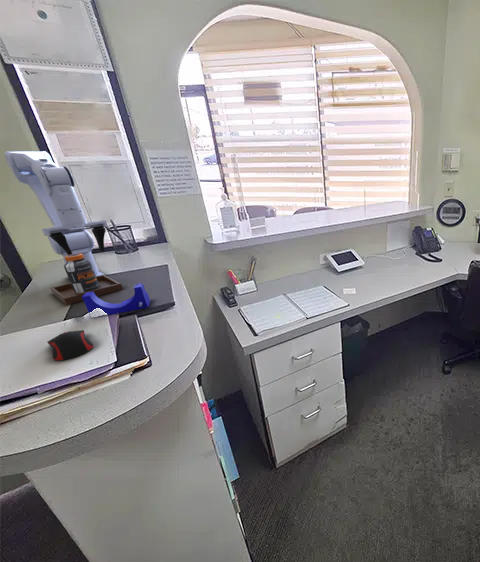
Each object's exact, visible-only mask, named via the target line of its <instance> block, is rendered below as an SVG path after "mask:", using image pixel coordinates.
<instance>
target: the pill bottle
mask: <svg viewBox="0 0 480 562" xmlns="http://www.w3.org/2000/svg"><path fill="white" fill-rule="evenodd" d="M65 260H66V261H67V263H64V265H63V269H64V271H65V273H66V275H67V276H68V278H67V279H68V280H69V283H71V285H72V288H73V290H74V292H75V293H85V292H89V291H92V290H96V289H98V288H99V287H100V286H99V283H98V281H97V278H96V276H95V273H94V270H93V267H92V265H91V263H90V261H88V260H85V259H84V256H83V254H81V253H79V254H71V255H67V256H65ZM67 276H66V277H67Z"/></svg>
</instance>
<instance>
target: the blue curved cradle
mask: <svg viewBox="0 0 480 562" xmlns="http://www.w3.org/2000/svg"><path fill="white" fill-rule="evenodd" d="M133 289H134V290H133V291H134V293H133V295H132V297H130V298H128V299H126V300H122V301H121V302H120V303H112V302H107V301H104V300H103V299H101V298H99V296H96V295H95V293H94V292H87V293H85V294H84V295H83V296H82V298H83V302H84V305H85V307H86V310H87V312H88V314H89V313H90V312H92V311H93V310H94V309H96V308H100V309H102V310H103V311H104V312H105V313H107V314H108V315H107V316H111V315H116V314H122V313H126V312H133V311H137V310H142V309H147V308H149V306H150V303H151V300H150V296H149V293H148V291H146V289H145V285H144V283H143V282H142V283H136V284H135V285H134V287H133Z"/></svg>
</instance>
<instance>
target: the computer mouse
mask: <svg viewBox="0 0 480 562" xmlns="http://www.w3.org/2000/svg"><path fill="white" fill-rule="evenodd" d="M46 343H47V344H48V345H49V347H50V348H51V349H52V351H51V352H52V353H51V355H52V356H51V357H52V359H53V360H54V361H57V362H60V361H66V360H70V359H73V358H77V357H79V356H81V355H84V354H86V353H88V352H90V351H91V350H92V349H93V348H94V346H95V345H94V343H93V342H92V341H91V340H90V339H88V338H87V337H86V333H85V330H84V329H81V330H69V331H64V332H62V333H60V334H57V336H55V337H53V338H52V339H49V340H48V341H46Z"/></svg>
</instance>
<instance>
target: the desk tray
mask: <svg viewBox="0 0 480 562" xmlns="http://www.w3.org/2000/svg"><path fill="white" fill-rule="evenodd" d="M96 278H97V281H98V283H99V286H100V287H99V288H98V289H96V290H92V291H89V292H94V293H95V295H96V296H97V297H101V296H104V295H108V294H112V293H114V292H119V291H122V290H124V288H123V286H122V283H121V282H119V281H117V280H115V279H113V278H111V277H109V276H107V275H106V274H104V275H101V276H97V277H96ZM50 290H51V293H52V294H53V296H55V297H56V298H57V299H59V300H60V302H62V303H63V304H65V306H69V305H72V304H76V303H79V302H84V300H83V298H82V296H83V295H84V294H85V293H87V292H85V293H75V292H74V290H73V288H72V285H71V283H70V282H69V283H65V284H61V285H56V286H53V287H52V286H51V287H50Z"/></svg>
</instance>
